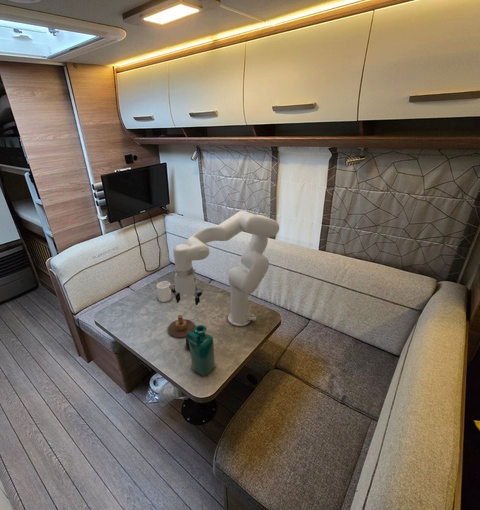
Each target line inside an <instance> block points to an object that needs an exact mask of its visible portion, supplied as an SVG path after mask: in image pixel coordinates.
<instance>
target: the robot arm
mask: <svg viewBox="0 0 480 510" xmlns="http://www.w3.org/2000/svg"><path fill="white" fill-rule="evenodd" d="M244 231H245V232H246V233H248V234H250V235H251V239H250V241H249V243H248V245H247V246H246V248H245V250H244V251H243V253H242V255H241V256H240V263H241V264H242V265H243V267H245V268H246V269H245V268H243V267H241V266H233V267H232V268H231V269H229V271H228V275H227V279H228V284H229V294H230V295H229V296H230V298H229V301H230V313H229V314H228V316H227V321H228V322H229V323H230V324H231V325H233V326H235V327H244V326H248V324H250V323H251V321H254V322H255V321H257V317H256V315H255V314H252V313H250V312H251V311H250V310H249V295H251V294H252V293H254V292H255V291H256V290H257V289H258V287H259V286H260V284H261V282H262V280H263V279H264V277H265V276H266V274H267V272H268V271H269V268H270V262H269V259H268V258H267V257H266V256H265V255H263V254H264V252H265V250H266V248H267V246H268V242H269V238H274V237H275V236H277V235H278V233H279V231H280V224H279V222H278V221H277V220H275V219H273V218H271V217H268V216H265V215H263V214H254V213H251V212H249V211H246V210H240V211H238V212H236V213H234V214H233V215H232V216H230V217H228V218H227V219H225V220H224V221H222V222H220V223H219V224H217V225H213V226H210V227H206V228H204V229H203V228H202V229H201V230H199V231H197V232H195V233H194V234H192V235H191V236H189V237H188V238H187V239H186V241H185V243H181V244H177V245H175V246H174V247H173V250H172V251H173V259H174V266H175V274H174V283H172V284H171V285H170V286H169V288H170V290H171V293H172V294H173V295H174V297H175V301H176V304H178V303H179V302H180V301H181V294H183V295H193V296H194V297H195V298H194V302H195V306H198V305H199V303H201V302H200V301H201V299H200V297H201V296H202V295H203V293H204V291H205V288H204V287H202V286H200V285H198V279H197V276H196V269H194V268H193V267H194V266H193V261H203V260H205V259H207V258H208V257H209V255H210V248H209V247H208V245H206V244H208V243H211V242H227V241H230V240H231V239H233V238H234V237H236V236H237V235H238V234H240V233H242V232H244ZM247 269H248V270H247Z"/></svg>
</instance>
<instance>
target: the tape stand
mask: <svg viewBox="0 0 480 510" xmlns="http://www.w3.org/2000/svg"><path fill="white" fill-rule="evenodd" d="M195 327H196V326H195V323H194V322H193V321H192V320H189V319H186V318H185V319H183V315H182V314H179V315H177V320H174V321H172V322H171V323H170V324H169V326H168V328H167V330H168V331H167V332H168V334H169V335H170V336H171V337H173V338H176V339H184V338H187V333H188V332H189V331H190V332H194V328H195Z"/></svg>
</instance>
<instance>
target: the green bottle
mask: <svg viewBox="0 0 480 510" xmlns="http://www.w3.org/2000/svg"><path fill="white" fill-rule="evenodd" d="M207 329H208V328H207V327H206V326H205V325H203V324H199V325H196V326H195V328H194V332H190V331H189V332H188V333H187V337H188V340H189V344H190V351H189V352H190V361H191V368H192V370H193V371H194V372H195V373H197V374H198V375H201V376H203V377H204V376H207V375H209V373H210V372H211V371H212V370H214V368H215V366H216V363H215V362H216V361H215V349H214V348H215V346H214V345H215V344H214V337H213V336H212V335H211V334H209V333H207ZM187 337H186V338H187Z"/></svg>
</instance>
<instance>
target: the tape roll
mask: <svg viewBox="0 0 480 510" xmlns="http://www.w3.org/2000/svg"><path fill="white" fill-rule="evenodd" d="M185 348H186V350H188V351H189V352H190V344H189V340H188V337H185Z"/></svg>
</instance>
